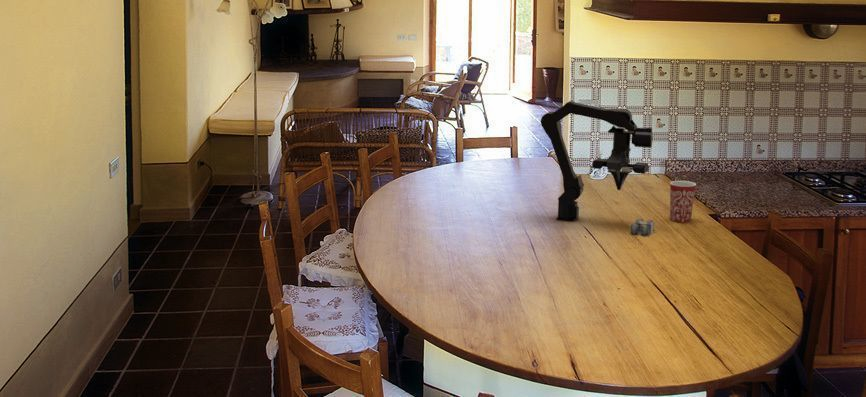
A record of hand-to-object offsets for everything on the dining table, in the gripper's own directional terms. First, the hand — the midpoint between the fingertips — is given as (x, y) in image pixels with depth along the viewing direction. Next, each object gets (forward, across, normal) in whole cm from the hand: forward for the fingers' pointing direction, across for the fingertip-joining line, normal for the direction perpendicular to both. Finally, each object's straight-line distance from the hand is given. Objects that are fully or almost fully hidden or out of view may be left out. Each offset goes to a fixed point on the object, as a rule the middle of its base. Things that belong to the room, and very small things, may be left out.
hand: (619, 189), depth 308 cm
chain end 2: (+12, +13, -8) cm, 19 cm away
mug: (+12, +18, +16) cm, 27 cm away
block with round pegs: (+12, +12, -8) cm, 18 cm away
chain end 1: (+12, +10, -8) cm, 17 cm away
